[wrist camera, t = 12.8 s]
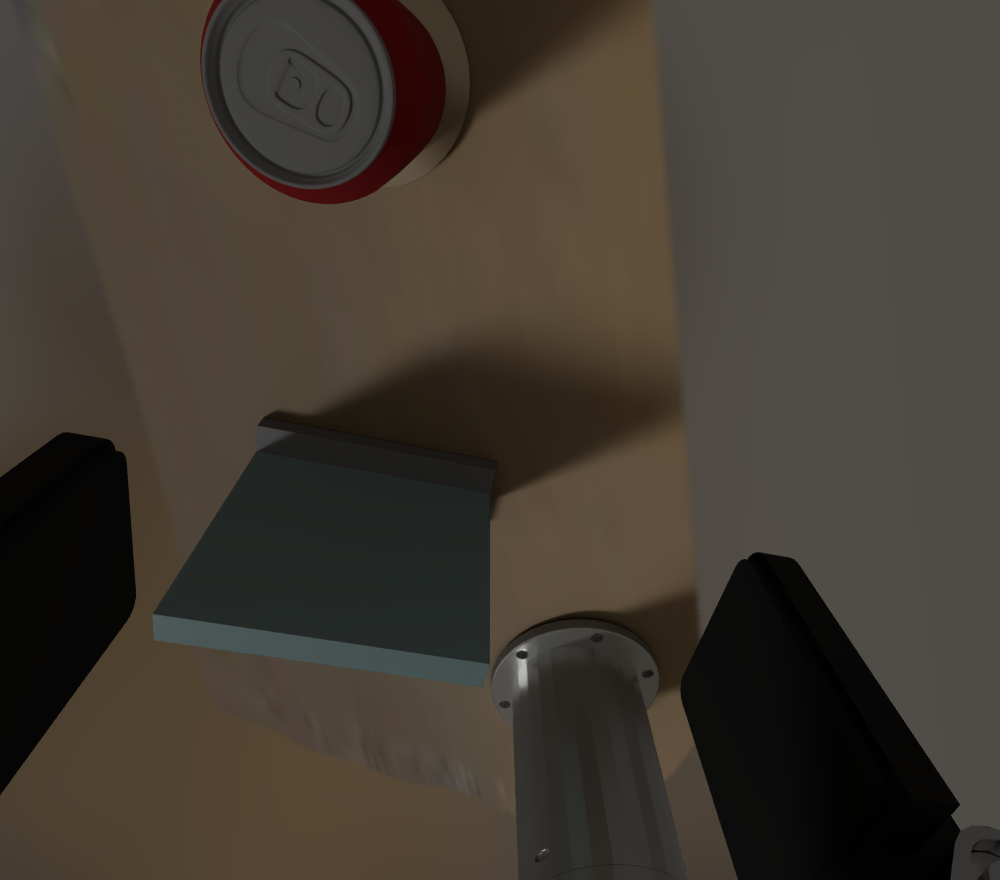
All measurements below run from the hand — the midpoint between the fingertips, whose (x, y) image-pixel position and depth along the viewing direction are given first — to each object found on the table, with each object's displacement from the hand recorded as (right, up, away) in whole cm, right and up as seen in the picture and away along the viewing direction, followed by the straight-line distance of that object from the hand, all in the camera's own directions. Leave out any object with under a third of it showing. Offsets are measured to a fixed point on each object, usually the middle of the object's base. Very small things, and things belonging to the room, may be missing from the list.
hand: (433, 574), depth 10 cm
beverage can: (-5, +18, +18) cm, 26 cm away
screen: (-7, 0, +29) cm, 30 cm away
